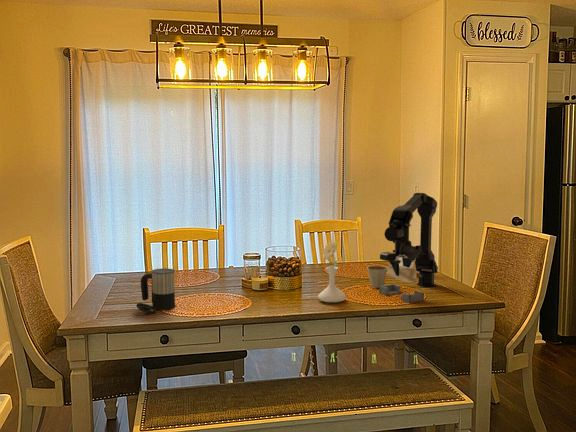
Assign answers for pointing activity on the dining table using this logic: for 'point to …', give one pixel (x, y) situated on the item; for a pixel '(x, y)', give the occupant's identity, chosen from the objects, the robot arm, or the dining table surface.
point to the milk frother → (158, 290)
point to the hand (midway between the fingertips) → (401, 275)
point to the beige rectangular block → (403, 273)
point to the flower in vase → (331, 277)
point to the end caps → (407, 298)
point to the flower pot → (377, 275)
